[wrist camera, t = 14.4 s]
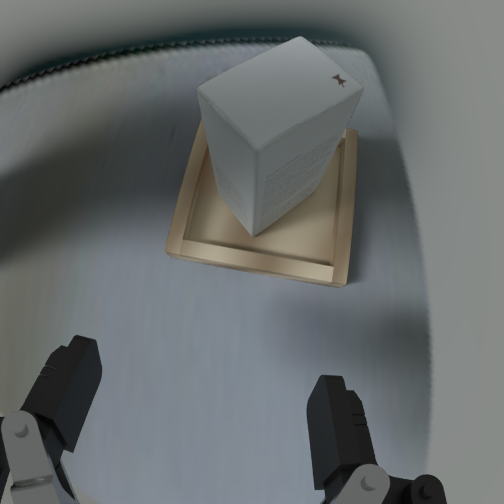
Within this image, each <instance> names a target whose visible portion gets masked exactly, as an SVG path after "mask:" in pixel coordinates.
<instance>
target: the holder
mask: <svg viewBox="0 0 504 504" xmlns="http://www.w3.org/2000/svg"><path fill="white" fill-rule="evenodd" d="M357 151H358V131H356V130H352V129H348V128H346V129H345V131H344V133H343V135H342V137H341V140H340V142H339V144H338V146H337V148H336V150H335V152H334V154H333V156H332V158H331V160H330V162H329V164H328V167H327V169H326V171H325V173H324V175H323V177H322V179H321V181H320V183H319V185H318V187H317V189H316V191H315V192H314V193H312V194H311V195H310V196H308V197H307V198H306V199H304V200H303V201H302V202H300V203H299V204H298V205H296V206H295V207H294V208H292V209H291V210H290V211H288V212H287V213H286V214H284V215H283V216H282V217H280V218H279V219H277V220H276V221H275V222H274V223H272V224H271V225H269V226H268V227H267V228H265V229H264V230H263V231H261V232H260V233H259V234H257V235H256V236H255V237H252V236H251V235H250V234H249V233H248V231H247V230H246V229H245V228H244V226H243V225H242V224H241V222H240V221H239V220H238V219H237V217H236V216H235V215H234V214H233V212H232V211H231V210H230V208H229V207H228V206H227V205H226V203H225V202H224V201H223V200H222V199H221V197H220V196H219V194H218V189H217V185H216V180H215V176H214V171H213V166H212V162H211V157H210V152H209V148H208V143H207V139H206V134H205V130H204V125H203V120H202V118H201V121H200V125H199V128H198V131H197V134H196V137H195V141H194V144H193V147H192V150H191V154H190V157H189V161H188V164H187V167H186V171H185V174H184V178H183V181H182V185H181V189H180V192H179V196H178V200H177V204H176V207H175V211H174V215H173V219H172V223H171V227H170V231H169V235H168V239H167V243H166V247H165V252H166V253H167V254H168V255H169V256H170V257H172V258H177V259H182V260H187V261H193V262H198V263H203V264H208V265H214V266H219V267H224V268H230V269H235V270H241V271H246V272H252V273H257V274H263V275H268V276H274V277H279V278H285V279H291V280H296V281H302V282H308V283H313V284H319V285H325V286H331V287H337V288H339V287H341V286H344V285H346V282H347V274H348V266H349V257H350V248H351V238H352V228H353V216H354V204H355V189H356V173H357Z"/></svg>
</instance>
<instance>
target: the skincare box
mask: <svg viewBox="0 0 504 504" xmlns="http://www.w3.org/2000/svg"><path fill="white" fill-rule="evenodd" d="M363 90H364V86H363V85H362V84H361V83H359V82H358V81H357V80H356V79H355V78H354V77H352V76H351V75H350V74H349V73H348V72H347V71H345V70H344V69H343V68H342V67H341V66H339V65H338V64H337V63H336V62H335V61H333V60H332V59H331V58H330V57H328V56H327V55H326V54H325V53H323V52H322V51H321V50H320V49H318V48H317V47H316V46H314V45H313V44H312V43H310V42H309V41H307V40H306V39H304V38H303V37H301V36H300V37H297V38H294V39H292V40H290V41H288V42H285V43H283V44H281V45H278V46H276V47H274V48H272V49H270V50H268V51H265V52H263V53H261V54H259V55H257V56H255V57H253V58H251V59H249V60H247V61H245V62H243V63H241V64H239V65H237V66H235V67H233V68H231V69H229V70H227V71H225V72H224V73H222V74H220V75H218V76H216V77H214V78H213V79H211V80H209V81H207V82H205V83H203V84H201V85H199V86H198V87H197V89H196V91H197V96H198V101H199V106H200V110H201V115H202V120H203V125H204V130H205V134H206V139H207V143H208V148H209V152H210V157H211V162H212V166H213V171H214V176H215V180H216V185H217V189H218V194H219V196H220V197H221V199H222V200H223V201H224V202H225V203H226V205H227V206H228V207H229V208H230V210H231V211H232V212H233V214H234V215H235V216H236V217H237V219H238V220H239V221H240V222H241V224H242V225H243V226H244V228H245V229H246V230H247V231H248V233H249V234H250V235H251V236H252V237H255V236H256V235H257V234H259V233H260V232H261V231H263V230H264V229H265V228H267V227H268V226H269V225H271V224H272V223H274V222H275V221H276V220H277V219H279V218H280V217H282V216H283V215H284V214H286V213H287V212H288V211H290V210H291V209H292V208H294V207H295V206H296V205H298V204H299V203H300V202H302V201H303V200H304V199H306V198H307V197H308V196H310V195H311V194H312V193H314V192H315V191H316V189H317V187H318V185H319V183H320V181H321V179H322V177H323V175H324V173H325V171H326V169H327V167H328V164H329V162H330V160H331V158H332V156H333V154H334V152H335V150H336V148H337V146H338V144H339V142H340V140H341V137H342V135H343V133H344V131H345V129H346V127H347V125H348V123H349V121H350V119H351V117H352V114H353V112H354V110H355V108H356V106H357V104H358V102H359V99H360V97H361V95H362V93H363Z"/></svg>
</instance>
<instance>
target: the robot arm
mask: <svg viewBox="0 0 504 504" xmlns="http://www.w3.org/2000/svg"><path fill="white" fill-rule="evenodd" d="M101 377H102V365H101V360H100V356H99V351H98V346H97V342H96V340H95V339H91V338H87V337H83V336H79V335H75V336H74V337H73V339H72V340H71V342H70V344H69V346H68V347H65V346H62V345H61V346H60V347H59V348H58V349H56V350H55V351H54V352H53V353H51V355H50V357H49V358H48V360H47V362H46V364H45V367H43V369H42V371H41V372H40V376H38V378H37V380H36V381H35V383H34V385H33V387H32V389H31V391H30V393H29V394H28V396H27V398H26V400H25V402H24V404H23V406H22V407H21V409H20V410H18V411H13V412H11V413H9V414H8V415H7V416H6V417H0V503H1V499H2V495H3V492H4V488H5V485H6V482H7V478H8V475H9V472H10V471H11V475H12V478H13V486H11V496H12V499H13V502H14V504H80V503H79V501H78V499H77V497H76V494H75V492H74V490H73V487H72V485H71V483H70V480H69V478H68V475H67V473H66V470H65V467H64V465H63V462H62V459H61V455H62V453H63V450H67V451H69V452H72V453H73V452H74V449H75V446H76V443H77V440H78V438H79V435H80V432H81V430H82V427H83V424H84V422H85V419H86V416H87V414H88V411H89V409H90V406H91V404H92V401H93V398H94V396H95V394H96V391H97V389H98V386H99V384H100V381H101ZM306 412H307V422H308V431H309V440H310V449H311V458H312V468H313V478H314V488H315V490H325V498H324V499H323V500H322V501H321V503H320V504H447V502H446V497H445V493H444V489H443V485H442V483H441V482H440V480H439V479H438V478H436V477H435V476H432V475H428V474H426V475H421V476H419V477H417V478H416V479H415V480H408V479H402V478H396V477H392V476H390V475H388V474H387V473H386V471H385V470H384V469H383V468H381V467H379V466H378V464H377V462H376V459H375V454H374V450H373V446H372V441H371V437H370V433H369V429H368V426H367V421H366V417H365V416H364V415H365V413H364V409H363V405H362V401H361V400H360V399H359V397H358V396H357V394H356V393H355V392H354V391H352V390H346V386H345V382H344V379H343V377H342V376H333V375H321V376H320V377H319V379H318V381H317V383H316V385H315V387H314V389H313V391H312V393H311V395H310V397H309V399H308V403H307V411H306Z"/></svg>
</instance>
